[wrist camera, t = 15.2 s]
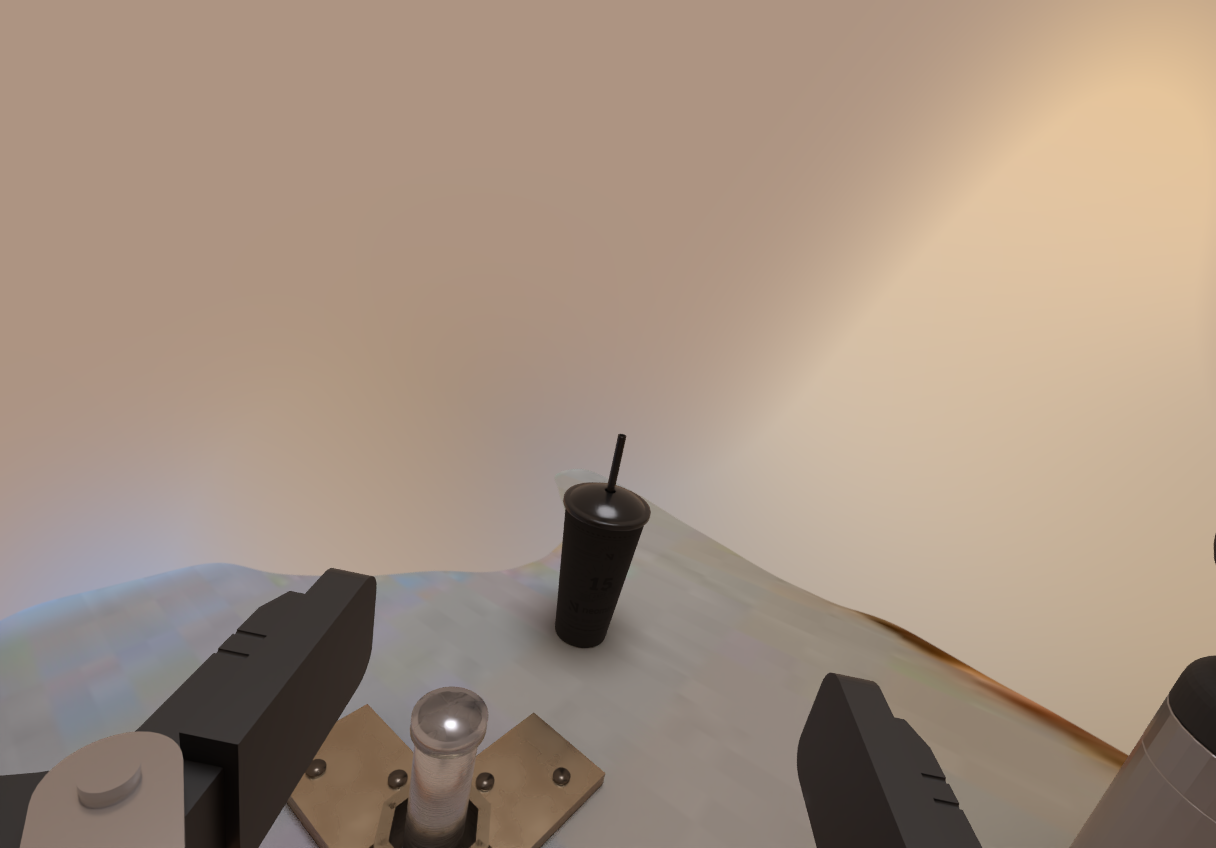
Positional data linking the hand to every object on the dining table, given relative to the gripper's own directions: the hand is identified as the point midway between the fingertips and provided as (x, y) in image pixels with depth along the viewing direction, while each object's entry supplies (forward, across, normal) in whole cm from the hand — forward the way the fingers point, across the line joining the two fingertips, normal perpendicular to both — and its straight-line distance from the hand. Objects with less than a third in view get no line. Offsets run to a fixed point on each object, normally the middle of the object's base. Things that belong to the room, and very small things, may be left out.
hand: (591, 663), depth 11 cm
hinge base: (+21, +7, +30) cm, 37 cm away
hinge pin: (+15, +5, +30) cm, 34 cm away
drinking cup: (+39, -1, +30) cm, 49 cm away
